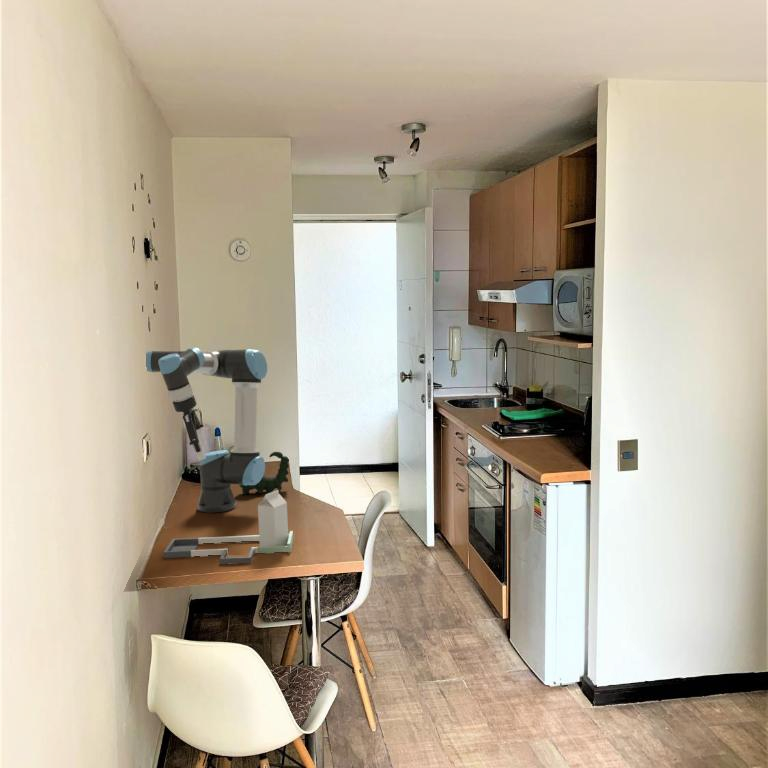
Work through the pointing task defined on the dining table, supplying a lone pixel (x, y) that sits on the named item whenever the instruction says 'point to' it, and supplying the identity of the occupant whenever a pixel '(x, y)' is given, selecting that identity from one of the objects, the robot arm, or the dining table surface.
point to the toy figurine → (270, 482)
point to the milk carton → (273, 520)
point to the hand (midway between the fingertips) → (202, 452)
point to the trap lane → (188, 546)
